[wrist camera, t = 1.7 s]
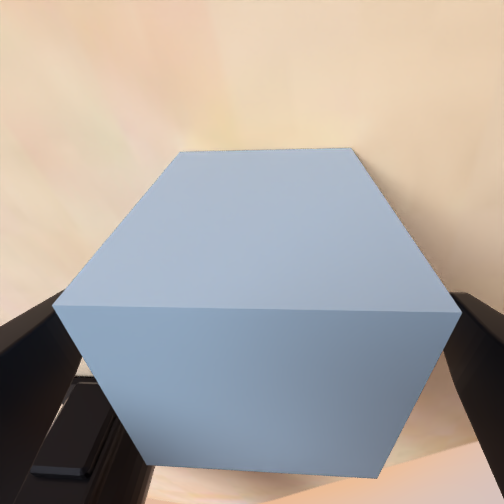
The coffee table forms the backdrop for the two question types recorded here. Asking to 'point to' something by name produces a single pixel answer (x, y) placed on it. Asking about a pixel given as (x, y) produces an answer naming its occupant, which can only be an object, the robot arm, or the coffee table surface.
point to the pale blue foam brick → (261, 315)
